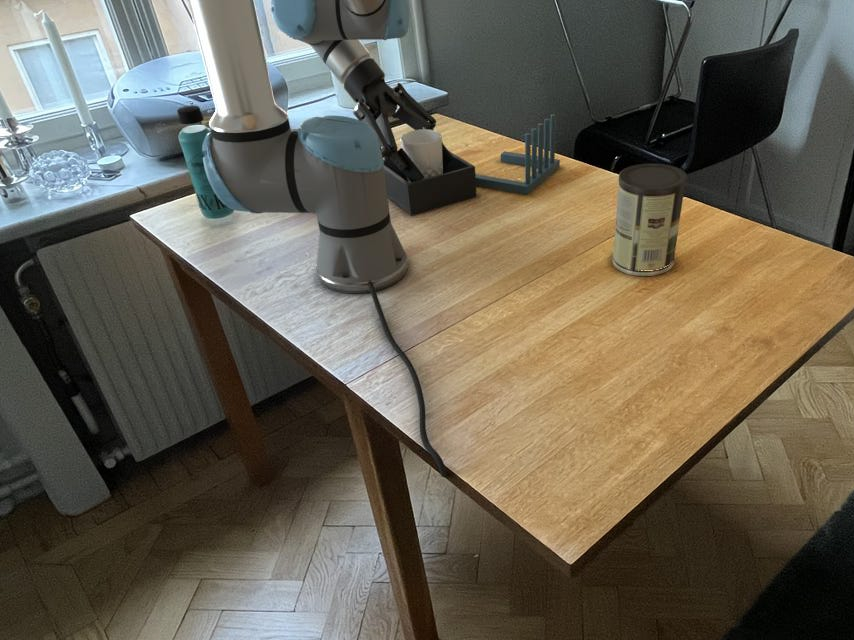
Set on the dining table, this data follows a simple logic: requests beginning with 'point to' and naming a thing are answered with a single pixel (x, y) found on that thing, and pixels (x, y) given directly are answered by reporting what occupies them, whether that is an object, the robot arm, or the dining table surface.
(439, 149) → the white cup
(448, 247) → the dining table surface
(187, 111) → the beverage bottle
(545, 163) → the drying rack
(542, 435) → the dining table surface
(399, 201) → the black square tray
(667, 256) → the coffee can
